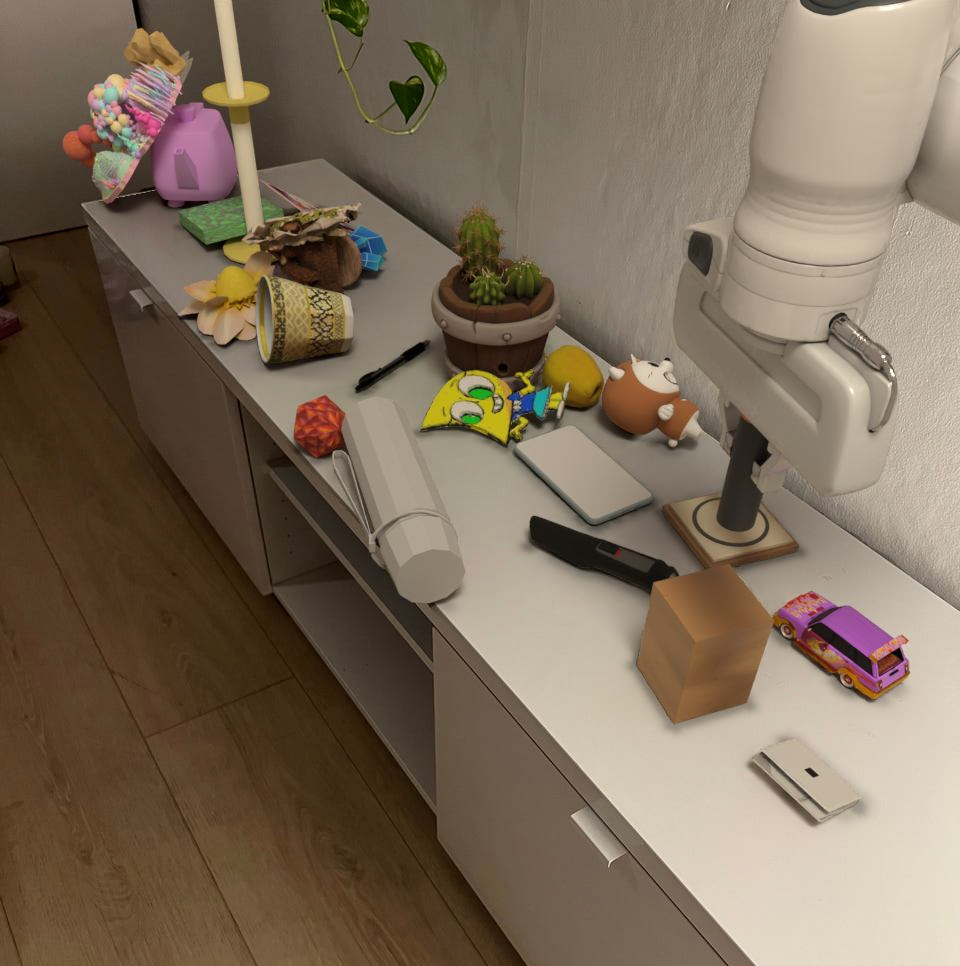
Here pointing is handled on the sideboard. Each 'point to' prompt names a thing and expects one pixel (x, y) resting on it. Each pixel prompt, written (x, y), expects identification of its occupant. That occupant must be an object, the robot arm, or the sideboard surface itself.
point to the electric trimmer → (600, 554)
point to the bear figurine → (306, 244)
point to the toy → (489, 415)
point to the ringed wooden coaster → (727, 534)
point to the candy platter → (129, 112)
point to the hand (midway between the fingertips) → (749, 468)
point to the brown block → (703, 642)
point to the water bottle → (400, 502)
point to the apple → (573, 375)
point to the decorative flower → (230, 300)
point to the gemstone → (358, 254)
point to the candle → (239, 127)
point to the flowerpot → (493, 306)
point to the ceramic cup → (300, 320)
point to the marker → (742, 479)
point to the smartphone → (583, 474)
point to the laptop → (806, 778)
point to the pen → (391, 365)
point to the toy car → (845, 643)
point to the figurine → (649, 401)
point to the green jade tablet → (223, 218)
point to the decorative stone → (319, 426)
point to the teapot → (193, 156)
